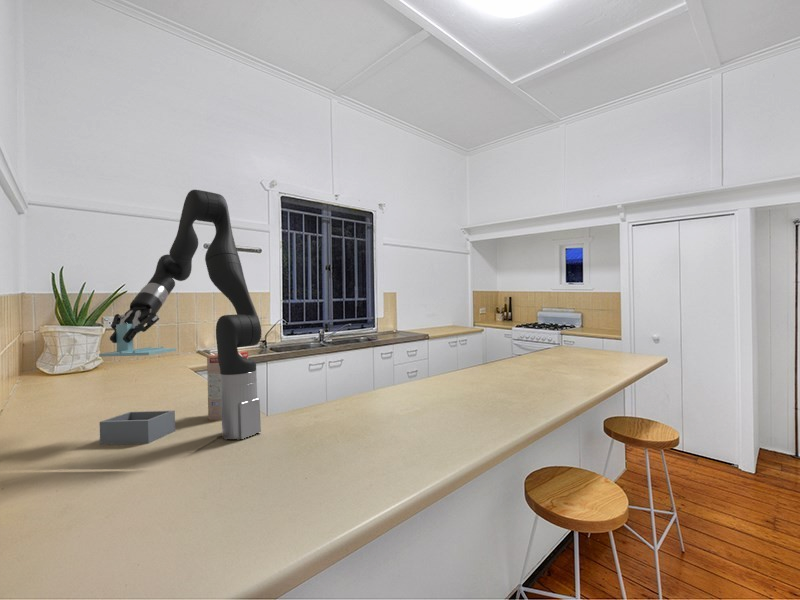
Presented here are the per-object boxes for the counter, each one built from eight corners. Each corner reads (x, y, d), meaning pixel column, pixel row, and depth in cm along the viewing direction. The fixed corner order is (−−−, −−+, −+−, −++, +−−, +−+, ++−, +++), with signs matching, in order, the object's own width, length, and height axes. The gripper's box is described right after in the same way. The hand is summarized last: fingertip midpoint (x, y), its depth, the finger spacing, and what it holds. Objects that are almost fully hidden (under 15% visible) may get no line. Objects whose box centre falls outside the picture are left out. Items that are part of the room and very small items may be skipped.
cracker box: (224, 422, 117) (221, 355, 117) (207, 421, 118) (205, 355, 118) (251, 410, 130) (248, 350, 131) (235, 410, 131) (233, 351, 132)
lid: (176, 350, 114) (175, 321, 114) (148, 355, 103) (148, 323, 103) (130, 351, 115) (130, 323, 116) (99, 356, 104) (98, 325, 105)
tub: (175, 433, 107) (174, 410, 108) (148, 445, 98) (148, 420, 98) (130, 434, 109) (130, 411, 109) (100, 446, 99) (99, 421, 99)
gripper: (122, 292, 118) (88, 333, 106) (164, 290, 117) (134, 331, 104) (136, 308, 123) (105, 349, 111) (176, 307, 122) (149, 348, 110)
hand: (119, 340), depth 108 cm, fingers closed on lid, 3 cm apart
